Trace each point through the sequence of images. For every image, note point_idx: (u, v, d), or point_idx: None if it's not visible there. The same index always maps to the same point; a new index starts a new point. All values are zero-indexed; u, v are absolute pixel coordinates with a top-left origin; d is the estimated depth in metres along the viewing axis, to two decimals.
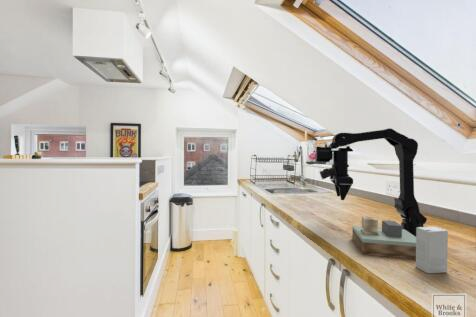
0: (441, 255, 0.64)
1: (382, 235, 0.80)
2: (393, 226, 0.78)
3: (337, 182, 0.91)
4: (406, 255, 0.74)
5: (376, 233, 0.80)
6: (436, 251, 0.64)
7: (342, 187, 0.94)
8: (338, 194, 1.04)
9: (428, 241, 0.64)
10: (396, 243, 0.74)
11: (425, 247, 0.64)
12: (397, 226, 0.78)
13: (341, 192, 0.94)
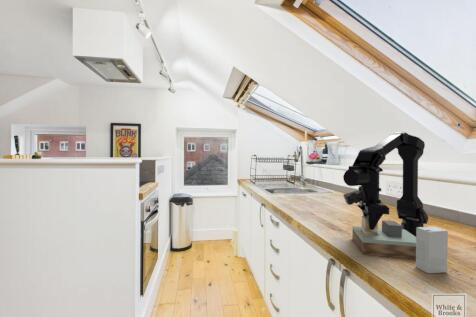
0: (441, 255, 0.64)
1: (382, 235, 0.80)
2: (393, 226, 0.78)
3: (369, 211, 0.74)
4: (406, 255, 0.74)
5: (376, 233, 0.80)
6: (436, 251, 0.64)
7: (372, 215, 0.79)
8: None
9: (428, 241, 0.64)
10: (396, 243, 0.74)
11: (425, 247, 0.64)
12: (397, 226, 0.78)
13: (370, 220, 0.79)
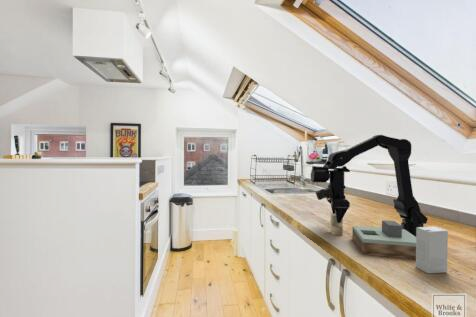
0: (441, 255, 0.64)
1: (382, 235, 0.80)
2: (393, 226, 0.78)
3: (333, 205, 0.88)
4: (406, 255, 0.74)
5: (341, 228, 0.94)
6: (436, 251, 0.64)
7: (338, 210, 0.90)
8: None
9: (428, 241, 0.64)
10: (396, 243, 0.74)
11: (425, 247, 0.64)
12: (397, 226, 0.78)
13: (337, 215, 0.91)
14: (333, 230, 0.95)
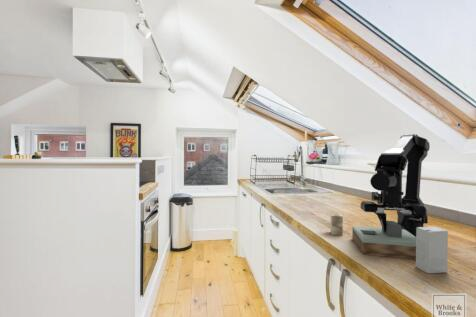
0: (441, 255, 0.64)
1: (382, 235, 0.80)
2: (393, 226, 0.78)
3: None
4: (406, 255, 0.74)
5: (341, 228, 0.94)
6: (436, 251, 0.64)
7: None
8: None
9: (428, 241, 0.64)
10: (396, 243, 0.74)
11: (425, 247, 0.64)
12: (397, 226, 0.78)
13: (380, 221, 0.82)
14: (333, 230, 0.95)
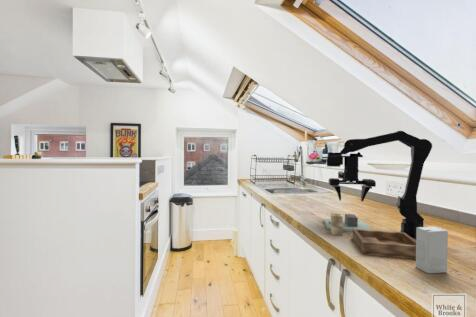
0: (441, 255, 0.64)
1: (343, 225, 1.04)
2: (351, 218, 1.02)
3: None
4: (406, 255, 0.74)
5: (341, 228, 0.94)
6: (436, 251, 0.64)
7: None
8: (361, 199, 1.04)
9: (428, 241, 0.64)
10: None
11: (425, 247, 0.64)
12: (354, 218, 1.02)
13: (337, 193, 1.07)
14: (333, 230, 0.95)
